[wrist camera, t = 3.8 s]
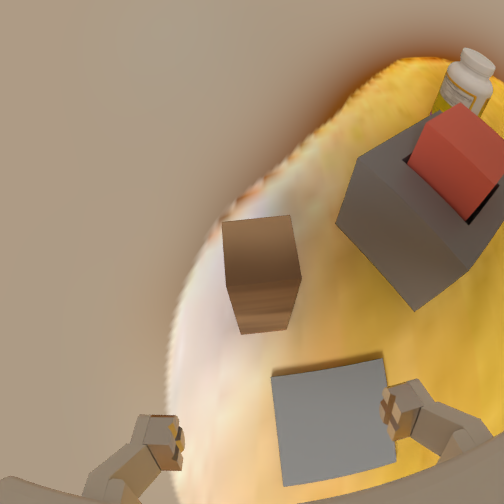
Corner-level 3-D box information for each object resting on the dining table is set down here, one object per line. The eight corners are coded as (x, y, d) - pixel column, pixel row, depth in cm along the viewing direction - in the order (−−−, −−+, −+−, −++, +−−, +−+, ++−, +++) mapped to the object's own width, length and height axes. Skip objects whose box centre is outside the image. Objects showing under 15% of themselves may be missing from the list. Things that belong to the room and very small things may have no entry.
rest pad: (270, 377, 23) (271, 377, 23) (380, 359, 23) (382, 358, 23) (283, 484, 19) (283, 486, 19) (393, 460, 19) (396, 461, 19)
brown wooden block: (237, 292, 26) (221, 222, 17) (280, 287, 27) (289, 214, 17) (241, 334, 25) (226, 286, 15) (286, 329, 25) (301, 278, 15)
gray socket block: (411, 168, 32) (439, 110, 24) (478, 236, 28) (523, 188, 20) (335, 223, 29) (357, 157, 21) (414, 311, 25) (468, 270, 17)
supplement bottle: (456, 117, 37) (486, 52, 26) (473, 148, 34) (511, 80, 23) (421, 110, 37) (447, 38, 26) (436, 141, 35) (472, 64, 23)
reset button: (439, 143, 23) (460, 102, 19) (489, 191, 21) (518, 153, 17) (404, 169, 22) (426, 122, 17) (461, 226, 20) (495, 185, 15)
